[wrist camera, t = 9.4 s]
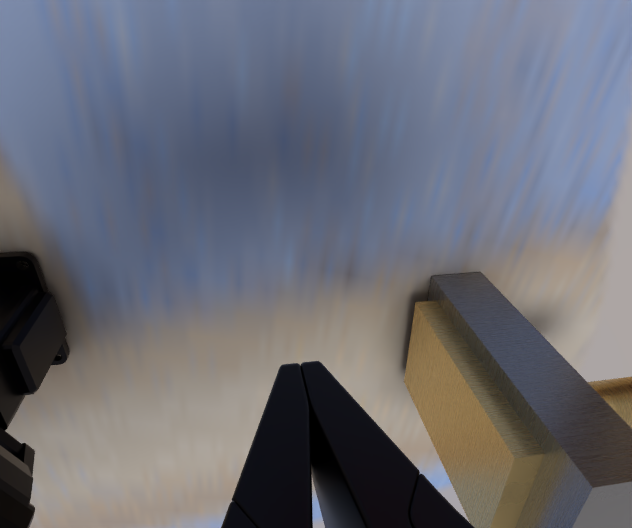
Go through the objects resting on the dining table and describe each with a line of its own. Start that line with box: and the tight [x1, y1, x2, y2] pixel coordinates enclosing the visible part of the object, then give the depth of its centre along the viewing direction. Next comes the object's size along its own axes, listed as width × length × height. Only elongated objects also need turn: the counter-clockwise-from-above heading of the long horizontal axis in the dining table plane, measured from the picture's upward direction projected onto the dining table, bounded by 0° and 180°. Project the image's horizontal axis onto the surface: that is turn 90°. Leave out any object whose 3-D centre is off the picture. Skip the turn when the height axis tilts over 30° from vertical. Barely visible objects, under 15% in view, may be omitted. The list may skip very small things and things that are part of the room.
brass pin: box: [404, 300, 632, 528], centre depth 22 cm, size 10×6×10 cm, turn 90°
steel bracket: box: [428, 272, 632, 528], centre depth 21 cm, size 3×8×13 cm, turn 0°
